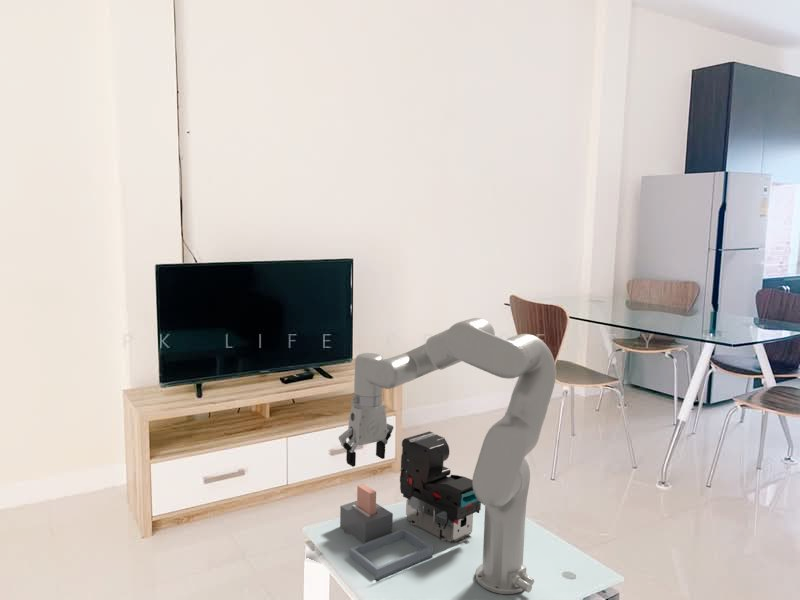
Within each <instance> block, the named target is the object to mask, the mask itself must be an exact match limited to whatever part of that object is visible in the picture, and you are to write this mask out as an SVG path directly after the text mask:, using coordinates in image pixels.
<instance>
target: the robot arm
mask: <svg viewBox="0 0 800 600" xmlns="http://www.w3.org/2000/svg"><path fill="white" fill-rule="evenodd" d="M461 362H463V363H466V364H468V365H470V366H472V367H474V368H477V369H479V370H482V371H483V372H486V373H489V374H491V375H493V376H496V377H498V378H502V379H511V380H512V379H515V378H518V379H517V381H516V383H515V386H514V388H513V390H512V392H511V396H510V401H509V404H508V406H507V409H506V412H505V414H504V415H503V416H502V418H500V419H499V420H498V421H497V422H495V423H494V424H493V425H492V426H491V427H490V428H489V429H488V430H487V433H486V434H485V436H484V439H483V441H482V444H481V445H482V446H481V449H480V452H479V453H478V454H479V455H478V458H477V462H476V464H475V468H474V471H473V473H472V474H473V475H472V479H471V480H472V487H473V491H474V494H475V496H476V498H477V499H478V500H479V502H481V504H482V505H483V506H484V523H483V525H484V526H483V545H482V547H483V549H482V563H481V564H480V565H478V567H477V568H476V570H475V580H476V581H477V583H478V584H479V585H480V586H481V587H482V588H484V589H486V590H487V591H490V592H492V593H496V594H500V595H513V594H518V593H521V592H526V593H530V592H531V591H532V588H533V585H534V583H535V579H533V578H532V577H530V576H529V574H528V573H527V566H525V565H523V564H524V547H525V531H526V529H525V528H526V527H525V526H526V512H527V511H526V510H527V501H528V500H527V499H528V494H529V488H530V483H531V482H530V481H531V469H530V466H529V463H528V461H527V459H526V458H525V457H527V456H528V454H530V452H532V450H534V448H535V447H536V445H537V444H538V441H539V439H540V435H541V431H542V427H543V424H544V421H545V419H546V415H547V412H548V408H549V405H550V402H551V399H552V395H553V391H554V388H555V383H556V377H557V367H556V361H555V358H554V356H553V353H552V351H551V350H550V347H548V345H547V344H546V343H545V342H544V340H542V339H541V338H539V337H537V336H536V335H534V334H531V333H530V334H529V333H520V334H516V335H514V336H511V337H508V338H506V339H505V338H502V337H500V336H496V333H495V330H494V328H493V325H492V324H491V323H490V321H488V320H486V319H484V318H481V317H473V318H469V319H465V320H461V321H458V322H456V323H454V324H453V325H451V326H450V327H449V328H447V329H446V330H443V331H441V332H439V333H436V334H434V335H432V336H429V337H428V338H427V339H426V341H425V343H423V344H422V345H419V346H418V347H417V346H416V348H413V349H411V350H409V351H407V352H405V353H401V354H397V355H395V356H392V357H389V358H383V356H381V354H377V353H374V352H364V353H363V352H362V353H360V354H358V355H356V357H355V361H354V382H353V383H354V384H353V385H354V387H353V388H354V389H353V397H351V398H350V403H351V404H352V405H351V409H350V412H349V417H348V418H349V419H348V429H346V431H344V432H342V433H341V434H340V435H339V436H338V440H339V442H340V445H341V447H343V449H344V450H346V456H345V458H346V459H345V461H346V464H347V465H349V466H350V467H352V468H354V467H355V466H356V459H357V458H356V457H357V455H356V451H355V450H356V449H357V447H358V446H363V445H369V444H372V443H375V446H376V447H375V448H376V449H375V456H376V457H378V458H380V459H381V460H384V459H385V457H386V456H385V455H386V445H387V444H388V442H389V439H390V438H391V436H392V433H393V430H394V425H391V424H389V423H388V422H387V412H386V406H385V403H384V402H383V389H385V390H391V389H394V388H397V387H399V386H401V385H404V384H406V383H410V382H411V381H414V380H417V379H418V378H420V377H423V376H425V375H428V374H430V373H433V372H435V371H438V370H441V371H442V370H445V369H447V368H448V367H451V366H454V365H456V364H459V363H461ZM347 439H348V441H347Z"/></svg>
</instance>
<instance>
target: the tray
mask: <svg viewBox="0 0 800 600" xmlns="http://www.w3.org/2000/svg"><path fill="white" fill-rule="evenodd" d="M402 539H405V540H406V541H408V542H409V543H410V544H412V545H414V546H415V547H417V548H418V550H416V551H413V552H410V553H409V554H406V555H404V556H402V557H399V558H397V559H394V560H392V561H390V562H387V563H384V564H381V565H379V566H377V565H376V564H375V563H373V562H372V561H371V560H369V559H368V558H366V557H365V556H364V555H363V554H366V553H367V552H371V551H372V550H375V549H378V548H381V547H383V546H386V545H387V544H391V543H393V542H396V541H399V540H402ZM433 548H434V546H432V544H429V543H427V542H426V541H425V540H424V539H422V538H420V537H418V536H417V535H415V534H413V533H412V532H411V531H409V530H407V529H406V528H402V529H399V530H396V531H394V532H393V531H392V533H391V534H388V535H385V536H383V537H380V538H377V539H375V540H372V541H369V542H367V543H364V544H363V543H361V544H359V545H355V546H354V547H350V548H349V557H350V558H351V559H352V560H354V561H355V563H358V565H360V566H361V567H362V568H364V569H365V570H366V571H368V572H369V573H370V574H372V575H373V576H374V577H375V579H373V580H374V581H376V582H379V581H381V580H383V579H386V578H389V577H390V576H392V575H394V574H397V573H400V572H402V571H405V570H407V569H409V568H411V567H414V566H416V565H419V564H422V563H423V562H425V561H427V560H430V559H432V558H433V550H434V549H433Z"/></svg>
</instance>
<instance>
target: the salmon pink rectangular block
mask: <svg viewBox="0 0 800 600" xmlns="http://www.w3.org/2000/svg"><path fill="white" fill-rule="evenodd" d="M356 489H357V490H356V491H357V493H356V494H357V495H356V501H357V507H358V508H360V509H361V510H363V511H365V512H366V513H368V514H369V515H370V516H371V515H374V514H376V504H377V491H375V490H374V489H372V488H370V486H367V485H366V484H364V483H363V484H360V485H357V488H356Z"/></svg>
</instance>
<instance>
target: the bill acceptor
mask: <svg viewBox="0 0 800 600" xmlns="http://www.w3.org/2000/svg"><path fill="white" fill-rule="evenodd" d="M401 447H402V450H401V452H402V453H401V456H400V457H401V458H400V473H399V474H400V475H399V483H400V486H399V489H400V493H401V494H402V497H403V498H405V499H406V501H405V503H406V505H405V516H406V520H407V521H409V522H410V525H412V526H416V527H417V528H420V529H422V530H424V531H425V532H428V533H430V534H432V536H433V535H434V536H436V537H437V538H439V540H441V541H443V542H446V541H447V542H449V543H452V542H453V543H458V544H462V543H463V542H465V541H467V540H468V539H471V538H472V536H471V535H472V532H473V527H474V526H473V524H474V514H475V513H477V514H480V511H481V506H482V505H481V504H482V503H481V502H479V500H478V499H477V498H476V496H475V494H474V491H473V487H472V480H473V479H471V478H469V477H466V476H462V475H457V474H451V469H450V468H449V467H446V466H444V463H445V461H447V460H448V458H449V457H450V446H449V444H448V442H447V440H446V439H445V437H443V436H440V435H438V434H435V433H434V432H432V431H429V430H428V431H427V432H423V433H420V434H415V435H413V436H409V437H406V438H403V439H402V441H401Z"/></svg>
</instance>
